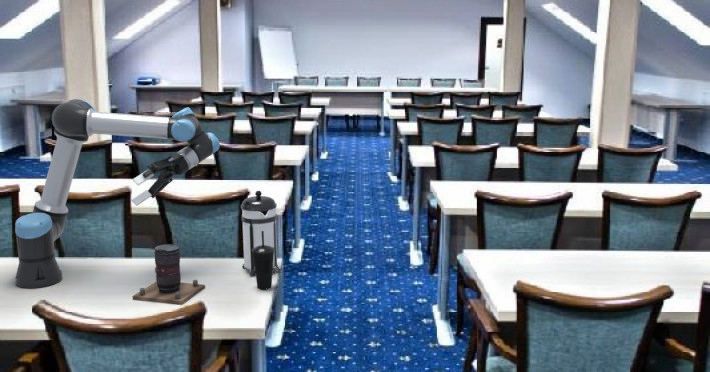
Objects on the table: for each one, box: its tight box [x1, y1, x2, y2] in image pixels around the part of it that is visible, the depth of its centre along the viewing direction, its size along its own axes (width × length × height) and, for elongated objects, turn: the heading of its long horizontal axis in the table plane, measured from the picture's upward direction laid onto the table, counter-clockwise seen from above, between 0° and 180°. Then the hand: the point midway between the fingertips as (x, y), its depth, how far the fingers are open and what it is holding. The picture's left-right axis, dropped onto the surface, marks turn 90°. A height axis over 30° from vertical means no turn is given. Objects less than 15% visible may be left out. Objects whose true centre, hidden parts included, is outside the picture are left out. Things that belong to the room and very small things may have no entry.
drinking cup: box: [252, 231, 275, 291], centre depth 246 cm, size 8×8×20 cm
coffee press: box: [240, 190, 281, 277], centre depth 264 cm, size 17×16×30 cm
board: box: [132, 279, 206, 305], centre depth 243 cm, size 18×16×3 cm
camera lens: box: [154, 244, 182, 293], centre depth 241 cm, size 8×8×15 cm
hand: (134, 192), depth 249 cm, fingers open, 13 cm apart
